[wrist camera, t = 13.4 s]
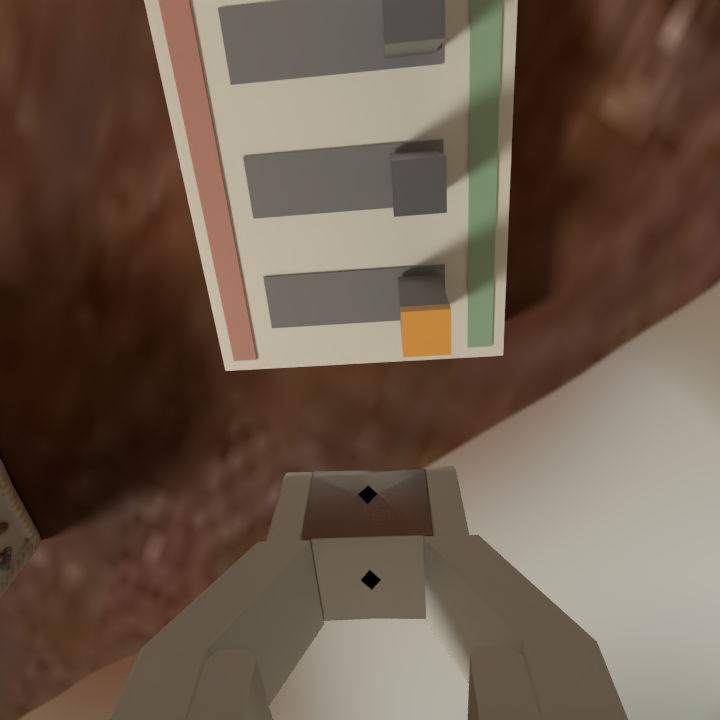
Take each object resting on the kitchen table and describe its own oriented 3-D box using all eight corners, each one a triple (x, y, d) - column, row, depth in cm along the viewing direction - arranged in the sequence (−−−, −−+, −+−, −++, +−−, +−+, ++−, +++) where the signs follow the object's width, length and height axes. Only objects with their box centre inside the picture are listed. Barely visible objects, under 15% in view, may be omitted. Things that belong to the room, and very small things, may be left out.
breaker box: (168, -31, 19) (61, -104, 12) (500, -70, 18) (562, -170, 12) (242, 343, 25) (196, 416, 19) (489, 328, 24) (525, 400, 18)
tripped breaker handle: (397, 276, 20) (400, 312, 16) (438, 274, 20) (451, 308, 16) (399, 315, 20) (402, 357, 17) (439, 312, 20) (451, 354, 17)
